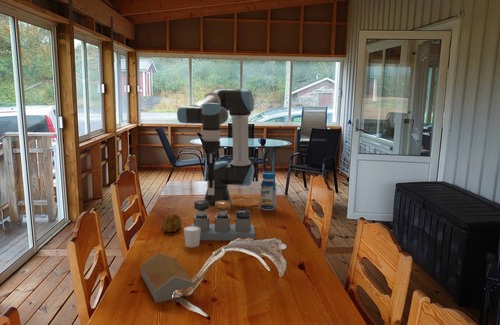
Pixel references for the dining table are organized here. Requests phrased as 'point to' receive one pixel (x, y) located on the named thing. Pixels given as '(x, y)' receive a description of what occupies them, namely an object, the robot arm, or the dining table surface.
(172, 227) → the rock
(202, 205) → the knob
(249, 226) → the mount
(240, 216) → the knob
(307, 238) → the dining table surface
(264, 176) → the beverage bottle
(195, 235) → the white candle
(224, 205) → the knob mid
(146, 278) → the house model
